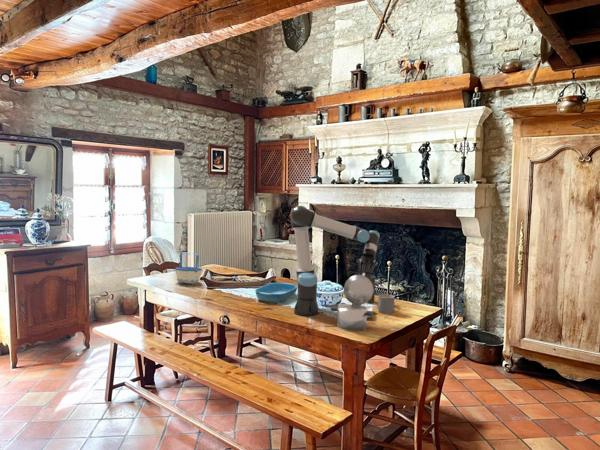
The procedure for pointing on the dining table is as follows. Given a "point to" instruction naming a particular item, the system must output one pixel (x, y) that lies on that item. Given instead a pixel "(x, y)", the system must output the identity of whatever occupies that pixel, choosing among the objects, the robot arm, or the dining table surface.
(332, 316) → the dining table surface
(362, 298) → the lid
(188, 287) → the dining table surface
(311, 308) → the robot arm
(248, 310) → the dining table surface
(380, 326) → the dining table surface
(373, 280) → the canister
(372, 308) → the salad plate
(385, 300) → the coffee mug
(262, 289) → the casserole dish
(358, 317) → the pressure cooker pot
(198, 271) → the basket
